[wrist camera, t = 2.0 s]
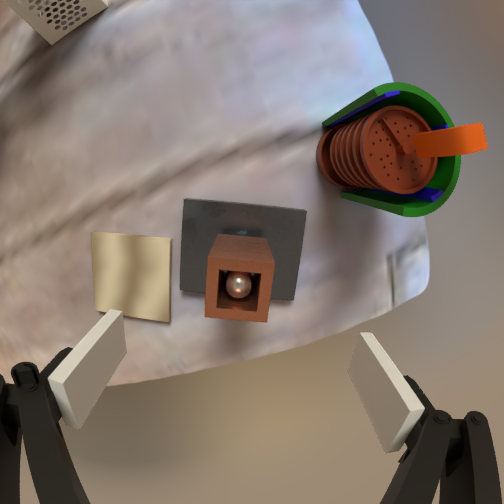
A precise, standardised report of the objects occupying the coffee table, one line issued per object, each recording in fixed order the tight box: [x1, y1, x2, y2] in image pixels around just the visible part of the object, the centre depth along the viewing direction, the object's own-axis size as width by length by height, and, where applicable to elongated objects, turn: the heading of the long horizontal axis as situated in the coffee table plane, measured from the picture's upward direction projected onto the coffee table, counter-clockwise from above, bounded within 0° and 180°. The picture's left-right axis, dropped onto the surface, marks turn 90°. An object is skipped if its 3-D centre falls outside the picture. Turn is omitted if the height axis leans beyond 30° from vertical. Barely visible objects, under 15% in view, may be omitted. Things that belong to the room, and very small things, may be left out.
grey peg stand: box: [180, 198, 307, 300], centre depth 29 cm, size 14×11×12 cm
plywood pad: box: [91, 232, 172, 322], centre depth 36 cm, size 11×11×1 cm
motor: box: [316, 82, 488, 217], centre depth 23 cm, size 10×9×20 cm
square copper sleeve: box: [205, 234, 275, 322], centre depth 27 cm, size 5×5×9 cm
